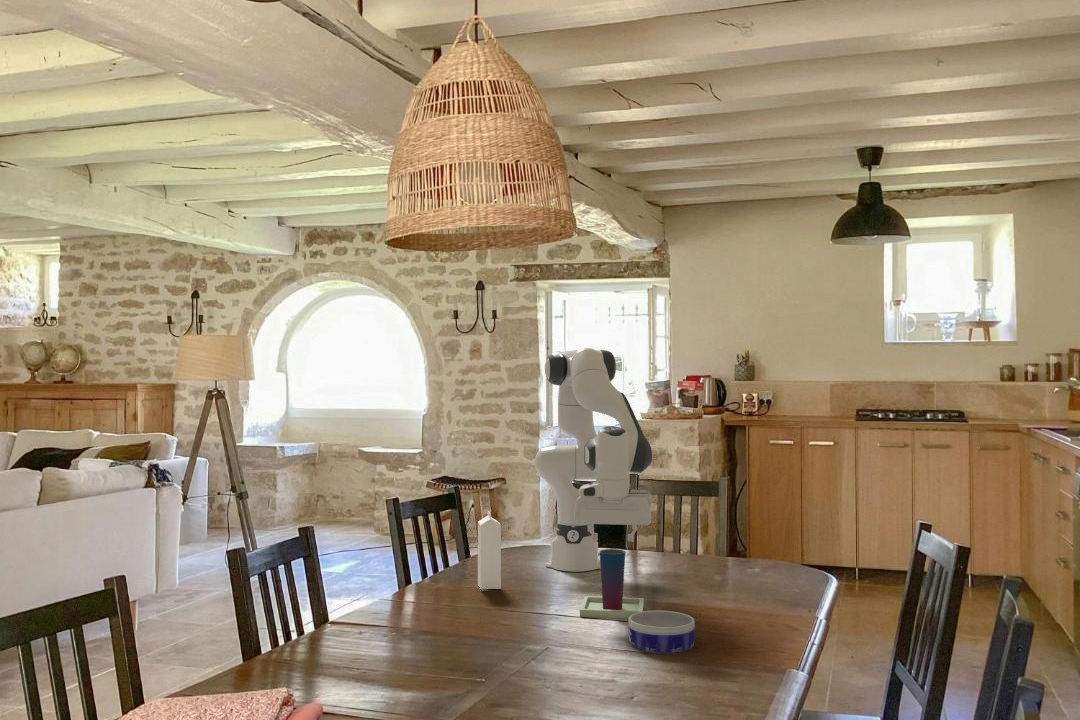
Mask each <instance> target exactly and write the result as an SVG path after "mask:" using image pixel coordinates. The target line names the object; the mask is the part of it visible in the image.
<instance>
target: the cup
mask: <svg viewBox="0 0 1080 720" xmlns="http://www.w3.org/2000/svg"><path fill="white" fill-rule="evenodd" d="M599 557H600V568H601V569H600V580H601V581H600V582H601V597H602V601H603V609H604V610H621V609H622V600H623V596H624V581H625V565H626V564H625V563H626V550H623V549H618V548H606V549H600V550H599Z"/></svg>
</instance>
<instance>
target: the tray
mask: <svg viewBox="0 0 1080 720" xmlns="http://www.w3.org/2000/svg"><path fill="white" fill-rule="evenodd" d="M644 599H645V598H643V597H623V600H622V609H621V610H604V609H603V601H602V596H594V595H593V596H592V595H591V596H590V595H589V596H587V595H586V596H585V595H584V597H583V599H582V603H581V605H580V607H579V617H580V618H581V617H583V618H584V617H585V618H603V619H605V618H607V619H608V618H609V619H610V618H611V619H629V616H630V615H632V614H634V613H637V612H642V611H644V607H645V606H644V605H645V604H644V601H645V600H644Z"/></svg>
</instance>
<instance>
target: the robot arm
mask: <svg viewBox="0 0 1080 720" xmlns="http://www.w3.org/2000/svg"><path fill="white" fill-rule="evenodd" d="M616 372H617V360H616V359H615V355H614V354H613V353H612V352H611V351H608V350H604V349H600V350H598V349H594V348H589V347H585V348H581V349H573V350H572V349H571V350H564V351H560V350H557V351H554V352H550V354H549V355H548V356H547V357H546V360H545V363H544V374H545V377H546V378H547V381H548V382H549V383H550V384H551V385H554V386H558V393H557V426H558V428H559V429H560V430H561V431H562V432H564V434H566V435H568V436H570V437H572V438H574V439H575V440H576V441H577V444H576V445H575V444H573V445H567V444H566V445H565V444H564V445H561V444H560V445H556V444H555V445H549V446H545V447H541V448H540V449H539V450H538V452H537V453H536V455H535V457H534V468H535V471H536V473H537V474H538V475H539V477H541V478H542V479H543V480H544V481H545V482H546V483H548V485H549V486H550V487H551V489H552V491H553V492H554V496H555V498H556V505H557V506H556V507H557V508H556V510H557V522H556V527H555V530H556V533H555V534H556V537H555V538H553V539H552V541H551V549H550V551H551V552H550V555H551V556H550V560H549V561H546V563H545V567H546V568H551V569H555V570H557V571H564V572H576V573H577V572H588V571H594V570H598V569H599V570H601V568H600V551H599V542H598V539H599V538H598V534H599V533H598V532H595V531H594V530H595V526H594V525H613V526H614V525H615V526H616V525H621V526H622V525H623V526H631V530H632V532H631V533H628V534H627V542H628V543H634V535H635V534H636V532H637V530H638V526H649V525H650V524H651V522H652V519H651V518H652V514H651V506H652V505H653V495H652V493H651V492H650V491H647V489H636V488H630V474H629V473H635V474H637V473H638V474H642V472H644V471H646V470H647V469H648V468H649V467H650V466H651V464H652V460H653V450H652V446H651V444H650V441H649V440H648V439H647V437H646V435H645V433H644V432H643V430H642V429H641V426H640V424H639V421H638V419H637V417H636V415H635V412H634V411H633V408H632V407H631V406H632V405H631V404H630V402H629V399H628V398H627V397H626V395H625V394H624V393H622V392H621V391H619V390H618V388H616V387H615V386H614V385H613V383H612V381H613V379H615V376H616ZM594 412H595V413H599V414H603V415H607V416H609V417H610V418H613V419H615V420H616V421H617V422H618V424H619V426H613V425H611V426H604V427H601V428H599V429H598V430H597V433H596V429H595V425H594V415H593V414H594ZM575 480H576V481H577V480H578V481H581V480H587V481H588V480H590V481H591V480H592V481H593V482H590V483H586V484H583V485H581V486H579V489H578V488H576V487H575V486H574V484H573V481H575ZM594 480H595V481H594Z"/></svg>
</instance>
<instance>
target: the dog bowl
mask: <svg viewBox="0 0 1080 720" xmlns="http://www.w3.org/2000/svg"><path fill="white" fill-rule="evenodd" d="M627 619H628V621H627V622H628V643H629V646H630V647H632V648H634V649H635V650H639V651H642V652H646V653H651V652H652V654H677V653H676V652H679V653H683V652H682V651H684V652H687V651H686V650H688V651H690V650H691V649H690V648H692V647H693V648H694V646H695V631H696V630H695V628H696V627H695V626H696V625H695V624H696V622H695V618H694V617H692V616H691V615H689V614H687V613H682V612H679V611H672V610H663V609H662V610H659V609H658V610H643V611H642V612H637V613H634V614H632V615H630V616H629V618H627ZM693 648H692V649H693ZM689 649H690V650H689Z"/></svg>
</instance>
